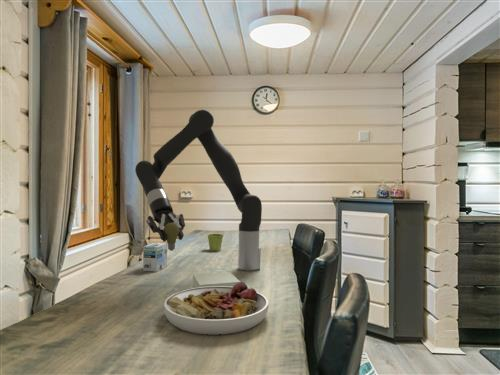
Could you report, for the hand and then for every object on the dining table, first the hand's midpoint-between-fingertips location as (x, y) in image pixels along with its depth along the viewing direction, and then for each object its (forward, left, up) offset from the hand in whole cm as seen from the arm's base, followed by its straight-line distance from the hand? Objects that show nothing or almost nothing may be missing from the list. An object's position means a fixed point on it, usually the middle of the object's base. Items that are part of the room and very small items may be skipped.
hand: (173, 239), depth 130 cm
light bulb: (+1, -2, -4) cm, 5 cm away
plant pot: (-31, -70, -19) cm, 79 cm away
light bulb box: (+4, -35, -19) cm, 40 cm away
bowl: (-9, +28, -19) cm, 35 cm away
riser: (-14, +5, -19) cm, 24 cm away
